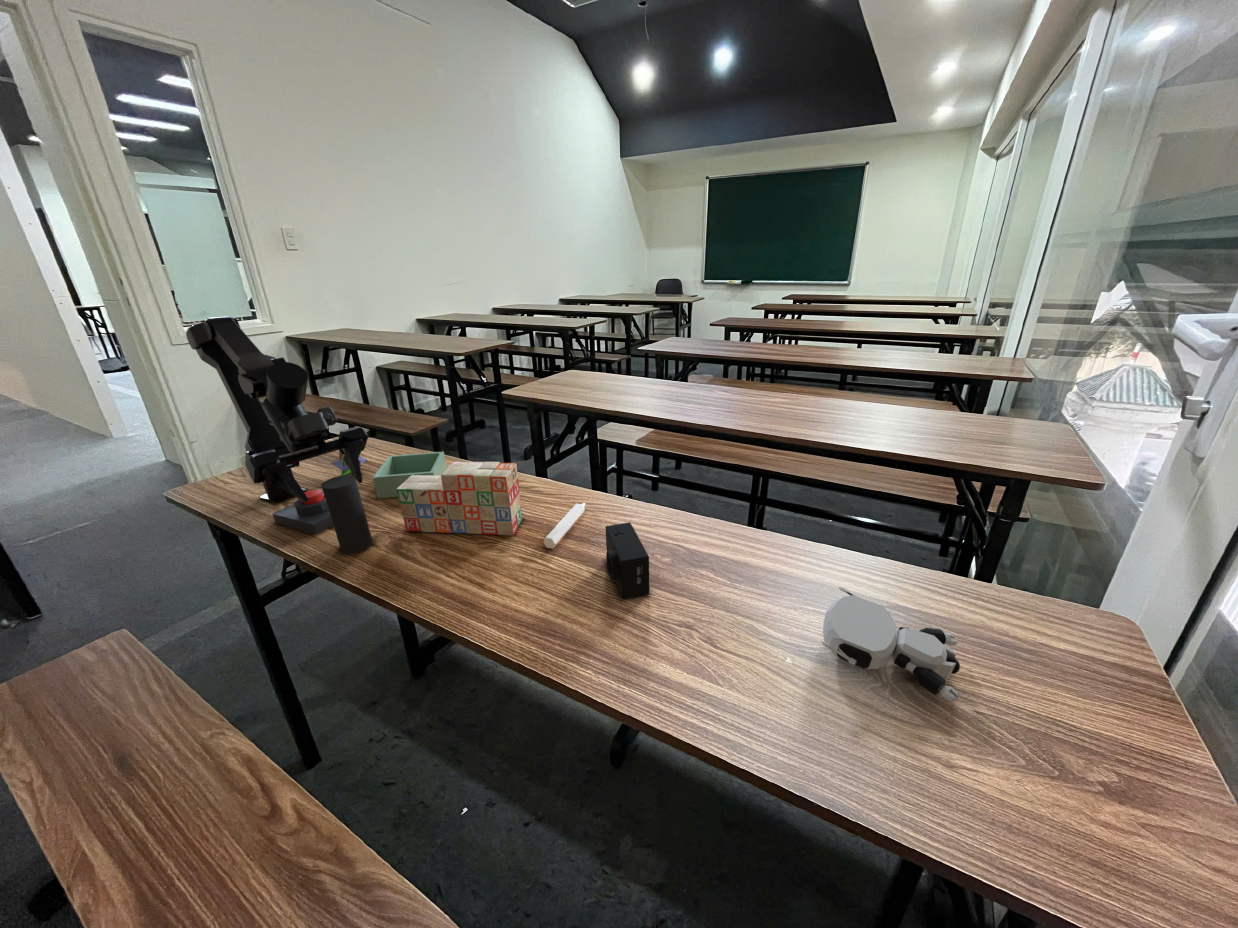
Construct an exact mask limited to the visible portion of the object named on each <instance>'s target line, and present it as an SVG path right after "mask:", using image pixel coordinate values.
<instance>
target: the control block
mask: <svg viewBox="0 0 1238 928" xmlns="http://www.w3.org/2000/svg"><path fill="white" fill-rule="evenodd" d="M322 494H323V497H324V500H322V501H320V502H318V503H314V504H308V505H305V504H303V501H302V500H300V499H299V498H298V499H296V500H295V502H294V503H292V504H291V505H288V506H286V507H284V508H281V509H279V510H277V511H275V512H273V513H272V517H273V520H274V523H275V524H278V525H281V526H285V527H287V528H292V529H297V530H299V531H302V532H306V533H310V534H312V535H313V534H314V535H318V534H319V533H322V532H323V531H325V530H327V529H328V528H331V527H333V526H334V525H333V522H332V519H331V516H330V512H329V509H328V506H327V502H326V499H325V496H324V493H323V491H322Z"/></svg>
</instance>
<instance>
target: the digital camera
mask: <svg viewBox="0 0 1238 928" xmlns="http://www.w3.org/2000/svg"><path fill="white" fill-rule="evenodd" d="M604 529H605V542H606V543H605V547H606V548H605V550H606V553H605V554H606V555H605V557H606V559H605V561H606V567H607V573H608V576H609V578H610V579H609V580H610V581H612V582H615V584H616V587H617V590H618V592H619V594H620V597H621V599H622V600H625V599H630V598H637V597H641V596H646V595H650V556H649V554H648V552H647V550H646V548H645V547H644V545H643V543H642V541H641V539H640V537H639V535H638V533H637V532H636V530H635V528H634V527H633V525H632V522H623V523H617V524H611V525H606V526H605V528H604Z"/></svg>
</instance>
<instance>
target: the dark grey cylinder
mask: <svg viewBox="0 0 1238 928" xmlns="http://www.w3.org/2000/svg"><path fill="white" fill-rule="evenodd" d="M321 489H322V492H323V493H324V496H325V499H326V502H327V506H328V509H329V512H330V516H331V519H332V522H333V525H332V526H333V529H334V532H335V534H336V538H337V541H338V545H339V548H340V551H341V552H342V554H347V555H352V554H357V553H362V552H363V551H365V550H367V549H369V548H370V547H371V546H372V545H373V543H374V540H373V537H372V533H371V530H370V527H369V526H370V525H369V522H368V519H367V516H366V512H365V508H364V504H363V501H362V497H361V494H360V490H359V486H358V481H357V480H356V478H355V477H354V476H353V475H344V476H342V475H340V476H334V477H331V478H329V479H327V480H325V481H324V482H322V483H321Z"/></svg>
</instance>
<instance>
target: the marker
mask: <svg viewBox="0 0 1238 928" xmlns="http://www.w3.org/2000/svg"><path fill="white" fill-rule="evenodd" d="M585 505H586V502H583V503H575V504H574V505H573V507H572V508H571V509H570V510H569V511H568V512H567V513H566V514H565V515H564V517H563V518H562V519H561V520H560V521H559V522H558V523H557V524H556V526H554V527H553V529H552V530H550V532H549V533H548V534H547V535H546V537H544V540H543V541H542V543H543V544H544V546H545V548H547V549H551V550H553V549H555V547H556V546H557V545H558V543H559V542H560V541H561V540H562V539H563V538H564V536H565V535H566V534H567V533H568V532H569V530H570V529H571V528H572V527H573V526H574V524H575V523H576V522H577V521H578V520H579V519H580V518H581V516H582V515H583V513H584V512H585V511H586V509H585Z"/></svg>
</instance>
